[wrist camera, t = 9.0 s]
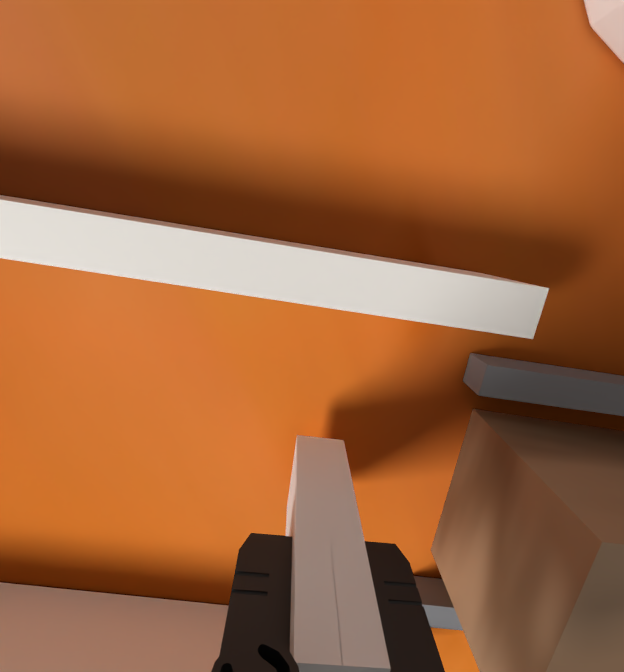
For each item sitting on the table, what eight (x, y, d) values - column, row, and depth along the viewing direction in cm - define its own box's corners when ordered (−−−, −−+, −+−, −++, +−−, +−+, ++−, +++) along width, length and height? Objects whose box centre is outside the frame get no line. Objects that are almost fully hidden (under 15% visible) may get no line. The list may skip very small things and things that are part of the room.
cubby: (-355, 137, 11) (-668, 91, 7) (479, 272, 12) (548, 288, 9) (-240, 583, 14) (-407, 690, 11) (380, 643, 16) (401, 754, 12)
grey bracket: (470, 352, 13) (487, 365, 12) (724, 390, 13) (764, 405, 12) (403, 595, 15) (411, 625, 14) (618, 618, 16) (643, 648, 15)
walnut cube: (472, 407, 13) (601, 542, 8) (633, 431, 14) (874, 575, 8) (429, 548, 15) (511, 750, 9) (576, 566, 15) (744, 770, 9)
